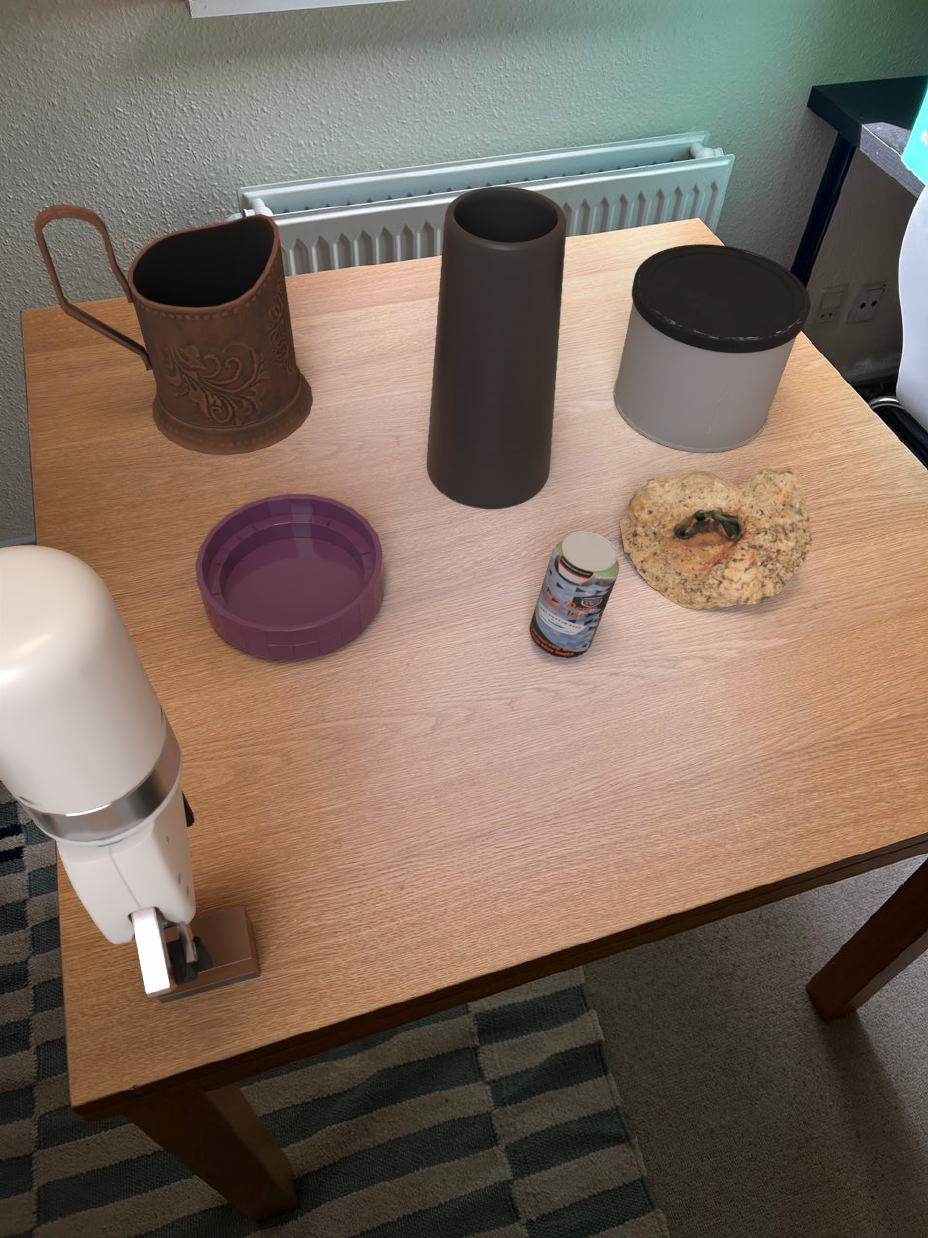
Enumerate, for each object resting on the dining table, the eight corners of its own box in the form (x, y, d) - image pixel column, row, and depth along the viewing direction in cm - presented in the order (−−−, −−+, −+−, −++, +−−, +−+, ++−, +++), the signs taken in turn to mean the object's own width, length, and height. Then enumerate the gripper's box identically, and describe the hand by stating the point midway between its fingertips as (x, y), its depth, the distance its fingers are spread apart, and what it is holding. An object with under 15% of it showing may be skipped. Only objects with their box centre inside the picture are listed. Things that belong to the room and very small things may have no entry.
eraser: (162, 1004, 65) (149, 987, 62) (157, 950, 68) (144, 930, 65) (260, 976, 67) (252, 958, 64) (252, 924, 69) (243, 904, 66)
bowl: (315, 693, 82) (309, 660, 78) (168, 614, 87) (156, 580, 83) (416, 571, 92) (416, 536, 88) (279, 506, 97) (273, 471, 93)
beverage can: (515, 640, 87) (525, 555, 77) (563, 598, 90) (579, 511, 81) (566, 678, 84) (584, 595, 75) (614, 633, 88) (637, 548, 78)
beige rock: (645, 641, 95) (633, 614, 88) (625, 521, 101) (612, 487, 94) (827, 607, 90) (829, 576, 84) (795, 483, 96) (794, 444, 89)
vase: (537, 519, 97) (572, 267, 74) (413, 496, 98) (409, 242, 76) (558, 437, 105) (594, 187, 83) (442, 417, 107) (447, 167, 84)
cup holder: (329, 436, 104) (307, 225, 84) (111, 479, 99) (33, 264, 79) (293, 342, 115) (266, 136, 95) (95, 377, 109) (22, 165, 90)
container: (665, 471, 102) (696, 357, 90) (583, 374, 113) (602, 261, 101) (801, 429, 107) (847, 317, 96) (711, 341, 118) (743, 229, 106)
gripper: (15, 640, 49) (108, 791, 62) (15, 958, 38) (127, 1056, 52) (159, 610, 50) (220, 764, 63) (196, 908, 40) (259, 1016, 53)
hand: (178, 895), depth 58 cm, fingers open, 9 cm apart
